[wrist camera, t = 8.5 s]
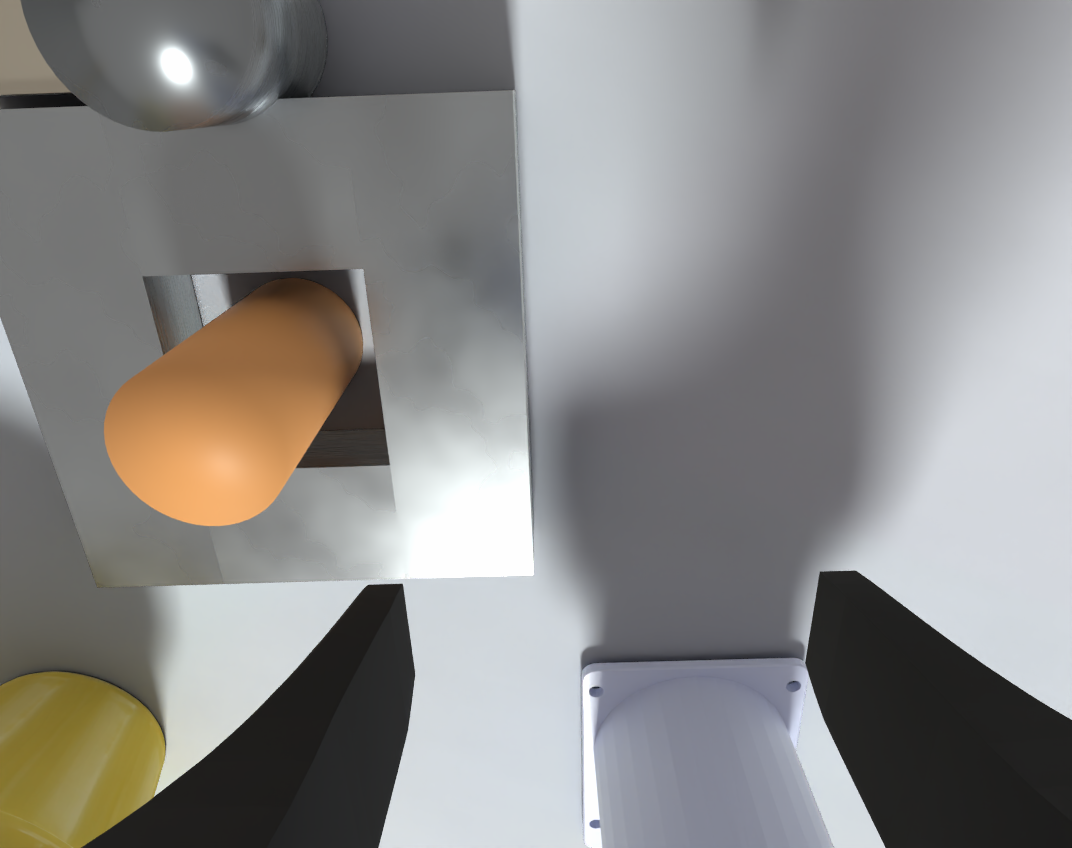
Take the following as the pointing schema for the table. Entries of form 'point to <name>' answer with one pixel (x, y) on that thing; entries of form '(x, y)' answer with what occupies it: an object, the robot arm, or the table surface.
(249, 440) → the orange rounded cylinder
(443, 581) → the table surface
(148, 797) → the plant pot
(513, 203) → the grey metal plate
